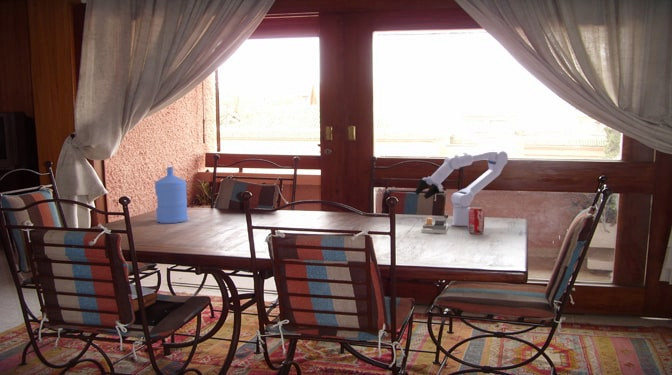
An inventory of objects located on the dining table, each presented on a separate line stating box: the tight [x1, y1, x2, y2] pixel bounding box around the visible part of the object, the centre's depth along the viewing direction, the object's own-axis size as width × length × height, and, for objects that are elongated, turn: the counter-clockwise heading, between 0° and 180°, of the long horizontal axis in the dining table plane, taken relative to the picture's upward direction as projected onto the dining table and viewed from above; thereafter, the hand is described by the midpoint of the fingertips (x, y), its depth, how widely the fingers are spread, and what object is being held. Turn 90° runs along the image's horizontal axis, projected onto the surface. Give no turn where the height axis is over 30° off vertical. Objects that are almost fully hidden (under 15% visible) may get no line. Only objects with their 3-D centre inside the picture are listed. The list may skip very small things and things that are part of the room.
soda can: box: [467, 205, 485, 235], centre depth 286 cm, size 7×7×12 cm
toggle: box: [443, 213, 449, 222], centre depth 299 cm, size 2×2×5 cm
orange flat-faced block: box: [426, 217, 433, 226], centre depth 299 cm, size 2×3×3 cm
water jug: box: [154, 166, 189, 224], centre depth 322 cm, size 16×16×28 cm
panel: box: [421, 220, 449, 234], centre depth 296 cm, size 11×17×4 cm, turn 166°
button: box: [434, 219, 444, 226], centre depth 291 cm, size 4×4×2 cm
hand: (420, 195), depth 299 cm, fingers open, 7 cm apart
